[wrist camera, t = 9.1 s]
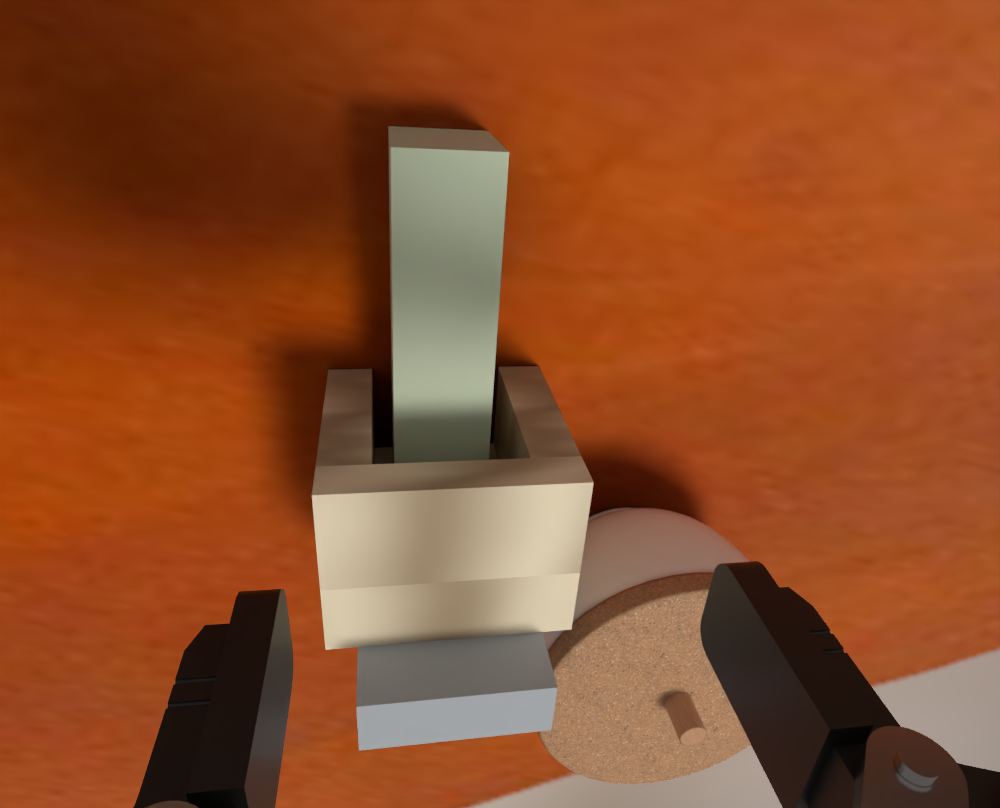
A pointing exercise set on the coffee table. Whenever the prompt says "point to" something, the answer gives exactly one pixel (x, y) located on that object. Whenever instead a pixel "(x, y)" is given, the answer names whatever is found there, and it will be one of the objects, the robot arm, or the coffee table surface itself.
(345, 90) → the coffee table surface
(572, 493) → the block
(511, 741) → the coffee table surface
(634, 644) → the lidded jar
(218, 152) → the coffee table surface
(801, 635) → the robot arm
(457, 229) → the pale green rectangular bar
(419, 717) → the wall
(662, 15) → the coffee table surface
